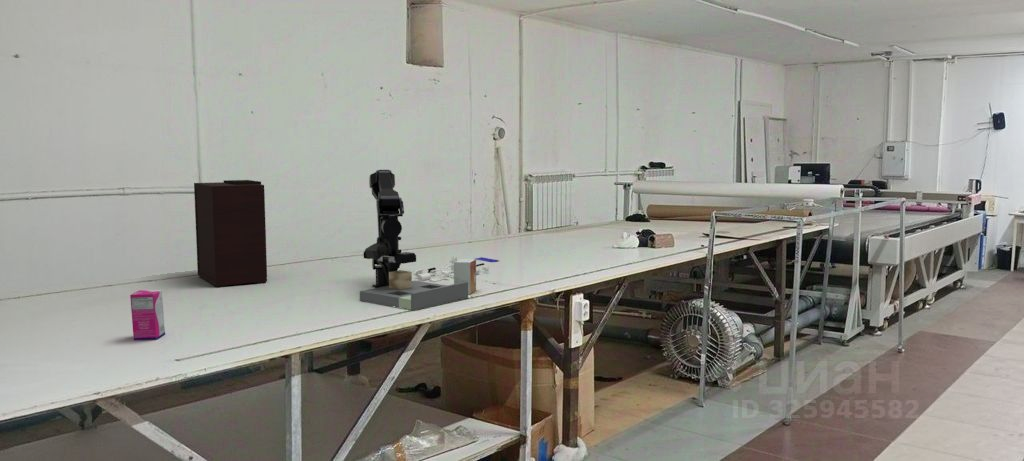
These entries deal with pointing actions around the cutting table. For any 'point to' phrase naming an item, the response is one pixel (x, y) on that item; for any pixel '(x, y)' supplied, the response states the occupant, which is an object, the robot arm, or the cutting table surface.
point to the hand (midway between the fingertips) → (389, 282)
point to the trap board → (416, 295)
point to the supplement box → (147, 314)
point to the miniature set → (427, 276)
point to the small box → (466, 273)
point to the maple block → (400, 279)
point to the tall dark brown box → (231, 232)
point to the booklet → (486, 259)
